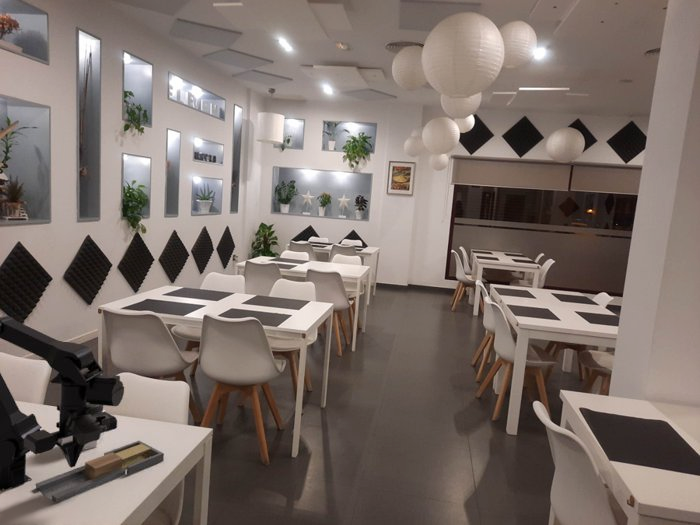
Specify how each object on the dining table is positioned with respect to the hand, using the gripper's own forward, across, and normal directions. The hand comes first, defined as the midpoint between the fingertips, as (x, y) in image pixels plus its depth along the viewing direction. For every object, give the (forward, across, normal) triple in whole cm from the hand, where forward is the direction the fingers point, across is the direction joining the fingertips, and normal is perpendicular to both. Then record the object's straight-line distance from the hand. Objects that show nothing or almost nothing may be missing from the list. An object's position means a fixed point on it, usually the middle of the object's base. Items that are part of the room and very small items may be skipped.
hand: (72, 466), depth 117 cm
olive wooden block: (+5, +14, 0) cm, 14 cm away
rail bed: (+5, +3, 0) cm, 6 cm away
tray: (+5, +16, 0) cm, 17 cm away
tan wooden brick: (+5, +8, 0) cm, 9 cm away
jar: (+6, +13, +18) cm, 23 cm away
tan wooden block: (+5, +18, 0) cm, 18 cm away
